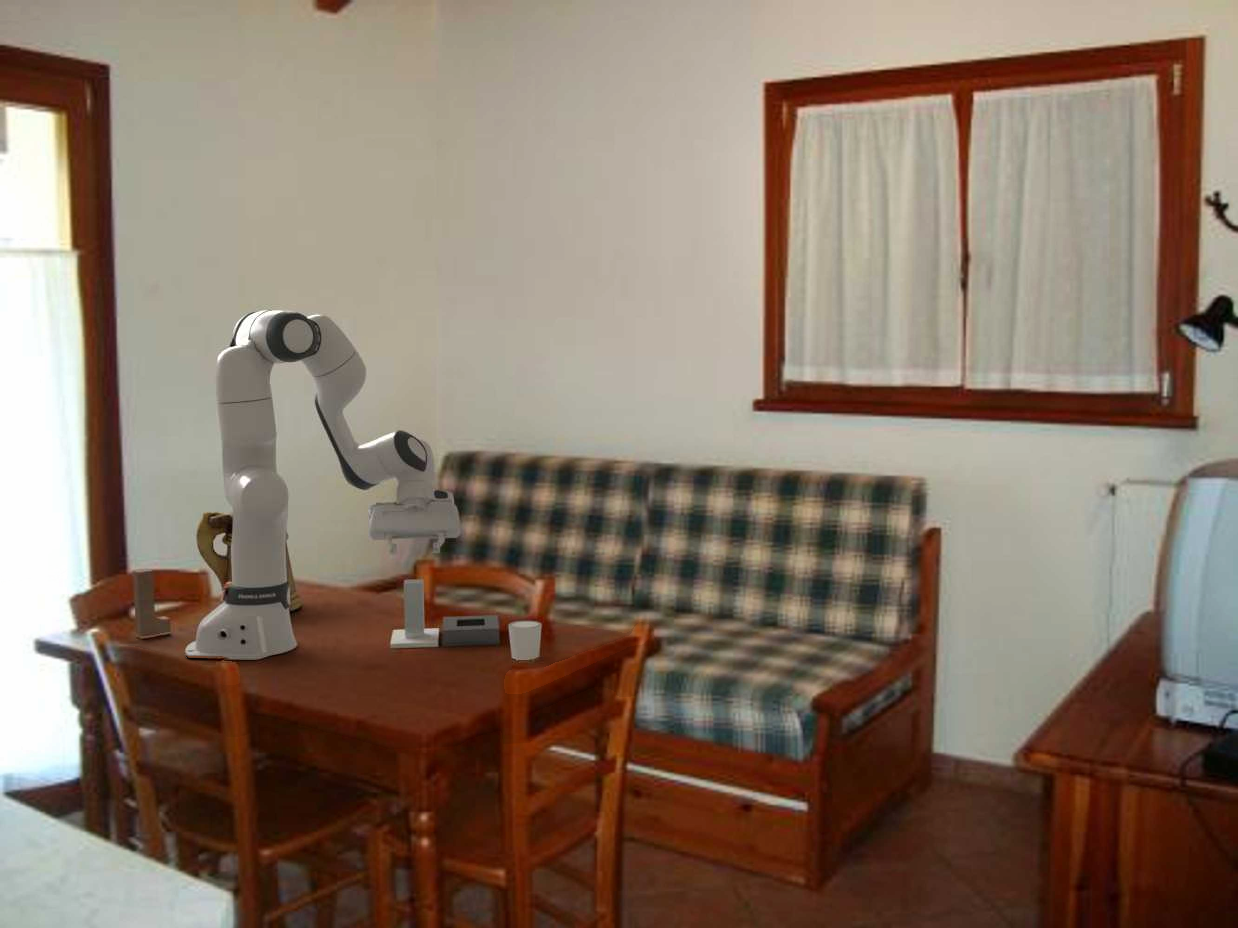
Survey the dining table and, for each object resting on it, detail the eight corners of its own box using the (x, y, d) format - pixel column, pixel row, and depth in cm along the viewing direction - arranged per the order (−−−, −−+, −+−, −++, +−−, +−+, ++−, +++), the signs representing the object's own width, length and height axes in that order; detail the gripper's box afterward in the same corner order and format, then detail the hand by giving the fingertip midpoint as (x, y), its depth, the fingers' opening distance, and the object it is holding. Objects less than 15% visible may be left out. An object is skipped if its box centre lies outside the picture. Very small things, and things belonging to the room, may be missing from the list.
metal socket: (442, 646, 262) (442, 630, 261) (443, 632, 274) (443, 616, 273) (499, 644, 263) (499, 628, 263) (497, 630, 275) (497, 615, 275)
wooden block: (141, 639, 269) (137, 572, 267) (135, 637, 271) (132, 570, 269) (171, 634, 273) (167, 568, 271) (165, 631, 275) (162, 566, 274)
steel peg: (405, 638, 265) (403, 583, 263) (406, 633, 269) (404, 579, 267) (424, 637, 265) (422, 583, 264) (424, 633, 269) (423, 579, 268)
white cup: (548, 655, 254) (548, 622, 253) (528, 663, 248) (528, 629, 248) (522, 651, 258) (521, 618, 257) (502, 658, 252) (501, 625, 251)
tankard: (311, 612, 293) (307, 509, 290) (210, 625, 281) (205, 517, 278) (288, 598, 308) (284, 499, 305) (191, 610, 296) (186, 507, 293)
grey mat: (390, 648, 260) (390, 643, 260) (393, 634, 272) (393, 629, 272) (438, 646, 262) (438, 641, 262) (439, 632, 273) (439, 628, 273)
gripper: (368, 494, 278) (366, 545, 270) (459, 492, 281) (460, 542, 272) (370, 511, 283) (368, 561, 274) (460, 509, 285) (460, 558, 277)
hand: (414, 552), depth 273 cm, fingers open, 8 cm apart
